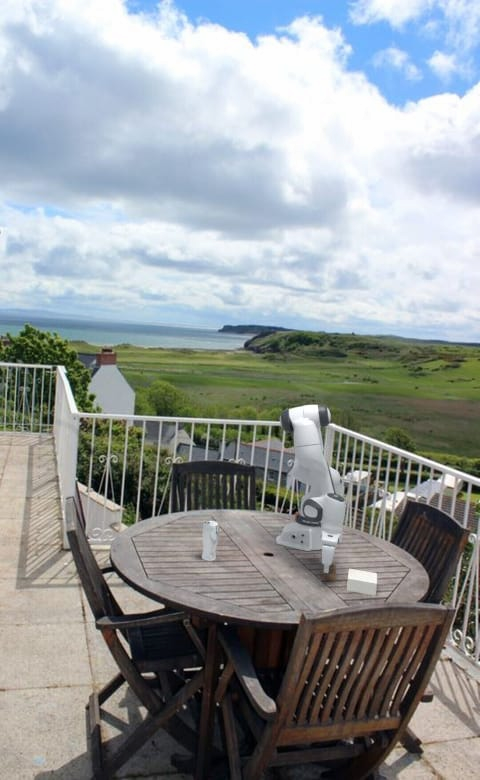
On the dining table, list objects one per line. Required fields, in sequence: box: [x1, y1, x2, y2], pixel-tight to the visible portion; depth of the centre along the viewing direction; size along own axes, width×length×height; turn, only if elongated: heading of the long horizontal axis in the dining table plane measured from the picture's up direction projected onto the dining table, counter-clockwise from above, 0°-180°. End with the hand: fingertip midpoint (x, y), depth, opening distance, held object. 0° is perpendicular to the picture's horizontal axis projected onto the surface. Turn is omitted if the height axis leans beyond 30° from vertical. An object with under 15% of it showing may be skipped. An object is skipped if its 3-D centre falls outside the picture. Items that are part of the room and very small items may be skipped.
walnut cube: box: [321, 563, 337, 582], centre depth 228 cm, size 5×5×5 cm
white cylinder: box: [201, 520, 220, 562], centre depth 237 cm, size 7×7×15 cm
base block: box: [346, 568, 378, 596], centre depth 221 cm, size 11×11×5 cm
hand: (327, 568), depth 228 cm, fingers open, 8 cm apart
